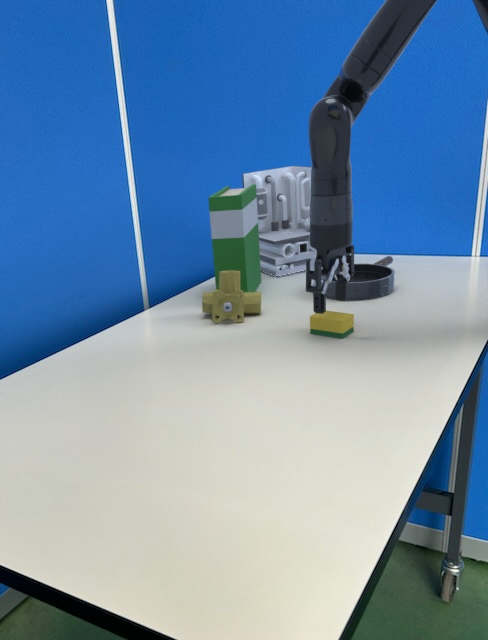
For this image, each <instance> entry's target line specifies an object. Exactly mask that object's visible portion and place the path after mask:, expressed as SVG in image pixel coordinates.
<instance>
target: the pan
mask: <svg viewBox="0 0 488 640" xmlns="http://www.w3.org/2000/svg"><path fill="white" fill-rule="evenodd" d="M347 265H348V267H349V264H347ZM321 276H322V275H321ZM395 279H396V271H395V270H394V269H393V267H390V266H388V265H387V266H383V265H378V264H374V263H354V275H353V276H350V280H349V281H347V282H348V291H347V300H346V302H350V301H353V302H355V301H368V300H375V299H379V298H383V297H386V296H388V295H390V294H392V293H393V292H394V291H395V285H396V284H395V283H396V280H395ZM336 281H338V280H336V279H335V276H334V277H333V278H332V281H331V283H329V284H328V286H327V289H326V292H325V294H326V297H327V298H326V299H329V298H331V299H330V300H333V301H334V300H335V282H336ZM322 284H323V282H321V287H322ZM392 291H393V292H392ZM385 295H386V296H385ZM367 299H368V300H367ZM335 301H336V300H335Z"/></svg>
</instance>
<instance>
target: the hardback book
mask: <svg viewBox="0 0 488 640" xmlns="http://www.w3.org/2000/svg"><path fill="white" fill-rule="evenodd" d="M230 186H231V185H226V186H224V187H223V188H221V189H220V190H218V191H215V193H213V194H212V195H210V196H209V197H207V199H208V212H209V222H210V234H211V244H212V245H211V246H212V247H211V248H212V259H213V269H214V270H213V271H214V281H215V289H218V290H219V272H220V271H233V270H235V271H240V290H242V291H243V292H244V293H245V292H256V291H257V290H258V288H259V287H260V285H261V284H262V272H261V267H260V248H259V230H258V211H257V193H256V184H252V185H251V186H249V187H248V188H243V187H242V188H241V187H240V188H231V187H230ZM260 282H261V283H260ZM259 284H260V285H259ZM257 287H258V288H257ZM256 289H257V290H256ZM255 290H256V291H255Z"/></svg>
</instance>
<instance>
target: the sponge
mask: <svg viewBox="0 0 488 640" xmlns="http://www.w3.org/2000/svg"><path fill="white" fill-rule="evenodd" d="M354 331H355V314H354V313H350V312H342V311H341V312H340V311H332V310H326V312H325V313H323V314H319V313H315V312H314V313H313V314H312V315H310V316H309V334H311V335H318V336H324V337H329V338H336V339H344V338H346V337H347V336H349V335H351V334H352V333H354Z"/></svg>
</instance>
